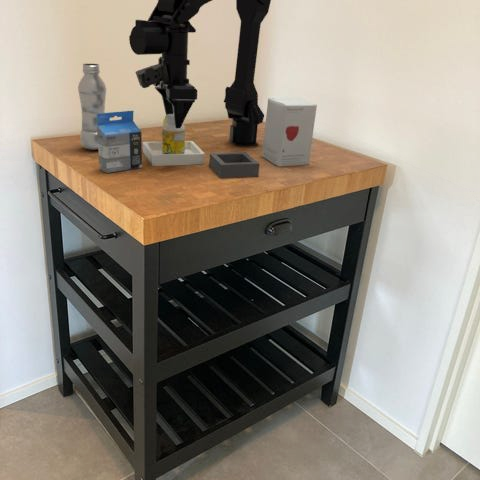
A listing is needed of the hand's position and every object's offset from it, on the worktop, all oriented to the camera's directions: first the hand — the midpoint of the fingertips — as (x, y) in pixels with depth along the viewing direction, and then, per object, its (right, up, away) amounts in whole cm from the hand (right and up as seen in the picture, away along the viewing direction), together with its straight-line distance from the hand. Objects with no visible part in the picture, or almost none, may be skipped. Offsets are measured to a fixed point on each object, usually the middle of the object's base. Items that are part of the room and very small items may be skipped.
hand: (173, 123), depth 123 cm
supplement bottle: (0, -7, +4) cm, 8 cm away
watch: (-4, +2, +23) cm, 24 cm away
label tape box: (-11, -12, -6) cm, 17 cm away
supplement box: (+27, -8, +8) cm, 29 cm away
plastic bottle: (-20, -5, +6) cm, 22 cm away
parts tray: (-1, -8, +4) cm, 8 cm away
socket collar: (+14, -11, -2) cm, 18 cm away
